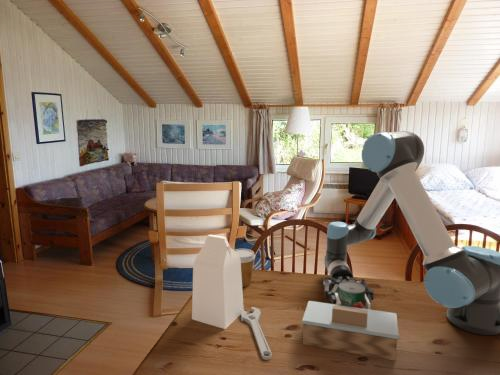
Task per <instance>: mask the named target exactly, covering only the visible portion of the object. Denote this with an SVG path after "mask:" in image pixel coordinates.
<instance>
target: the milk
mask: <svg viewBox="0 0 500 375" xmlns="http://www.w3.org/2000/svg"><path fill="white" fill-rule="evenodd" d="M234 250H235V249H233V248H232V247H231V246H230V243H229V241H228V239H227V236H220V235H215V234H207V236H206V238H205V241H204V244H203V245H202V247H201V249H200V250H199V252H198V254H197V255H196V256H195V259H194V261H193V265H192V301H191V304H192V305H191V306H192V307H191V309H192V310H191V320H193V321H197V322H200V323H202V324H203V323H204V324H206V325H210V326H214V327H217V328H220V329H223V330H226V329H227V328H228V327H229V326H230V325H232V323H234V322H235V321H236V319H238V318H239V317H240V316H241V312H242V310H245V309H244V294H243V287H242V275H241V260H240V256H239V255H238V254H237V253H236V252H235V251H234Z"/></svg>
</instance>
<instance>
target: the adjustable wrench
mask: <svg viewBox="0 0 500 375" xmlns="http://www.w3.org/2000/svg"><path fill="white" fill-rule="evenodd" d="M250 311H251V312H249V313H248V311H246V310H245V309H244V310H242V312H241V315H240V320H241V321H242V322H246V323H247V324H249V325H250V328H251V329H252V333H253V335H254V338H255V341H256V344H257V346H258V350H259V352H260V353H259V354H260V356H261V358H262V359H263V360H267V361H269V360H271V359H272V356H273V354H272V351H271V348H270V346H269V343H268V341H267V340H266V337H265V334H264V333H263V330H262V328H261V325H260V323H259V321H260V318H261V313H262V312H261V309H260V308H258V307H254V306H251V307H250Z"/></svg>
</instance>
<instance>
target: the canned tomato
mask: <svg viewBox="0 0 500 375" xmlns="http://www.w3.org/2000/svg"><path fill="white" fill-rule="evenodd" d="M338 296H339V299H340V301H341V305H342V306H349V307H356V308H363V309H365V306H364V302H365V286H364V285H363V284H361V283H358V282H354V281H344V282H341V283H340V284H339V290H338Z"/></svg>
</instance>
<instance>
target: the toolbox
mask: <svg viewBox="0 0 500 375" xmlns="http://www.w3.org/2000/svg"><path fill="white" fill-rule="evenodd" d="M302 325H303V326H302V327H303V328H302V345H306V346H311V347H318V348H321V349H329V350H333V351H338V352H346V353H351V354H357V355H361V356H367V357H371V358H372V357H373V358H377V359H384V360H391V361H396V356H397V344H398V343H397V342H398V339H394V338H387V337H381V336H375V335H369V334H363V333H357V332H351V331H345V330H338V329H332V328H326V327H320V326H314V325H308V324H302Z"/></svg>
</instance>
